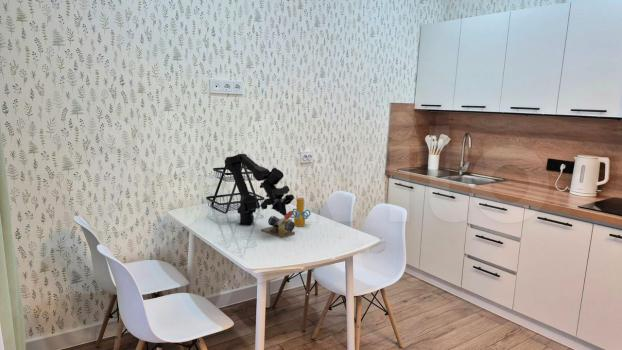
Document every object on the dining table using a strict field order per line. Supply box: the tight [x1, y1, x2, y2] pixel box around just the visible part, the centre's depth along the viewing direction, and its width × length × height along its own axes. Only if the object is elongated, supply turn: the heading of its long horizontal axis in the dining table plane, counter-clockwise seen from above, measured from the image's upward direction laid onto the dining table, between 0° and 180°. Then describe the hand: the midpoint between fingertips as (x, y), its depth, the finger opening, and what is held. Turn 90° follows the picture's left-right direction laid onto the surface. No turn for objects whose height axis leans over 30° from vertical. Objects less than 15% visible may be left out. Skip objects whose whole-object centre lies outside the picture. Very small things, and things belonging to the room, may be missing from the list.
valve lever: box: [277, 210, 295, 226], centre depth 214 cm, size 2×2×12 cm
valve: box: [260, 215, 296, 239], centre depth 221 cm, size 16×9×7 cm, turn 48°
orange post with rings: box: [290, 197, 311, 228], centre depth 235 cm, size 12×10×15 cm
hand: (285, 215), depth 214 cm, fingers closed, pressing on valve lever
